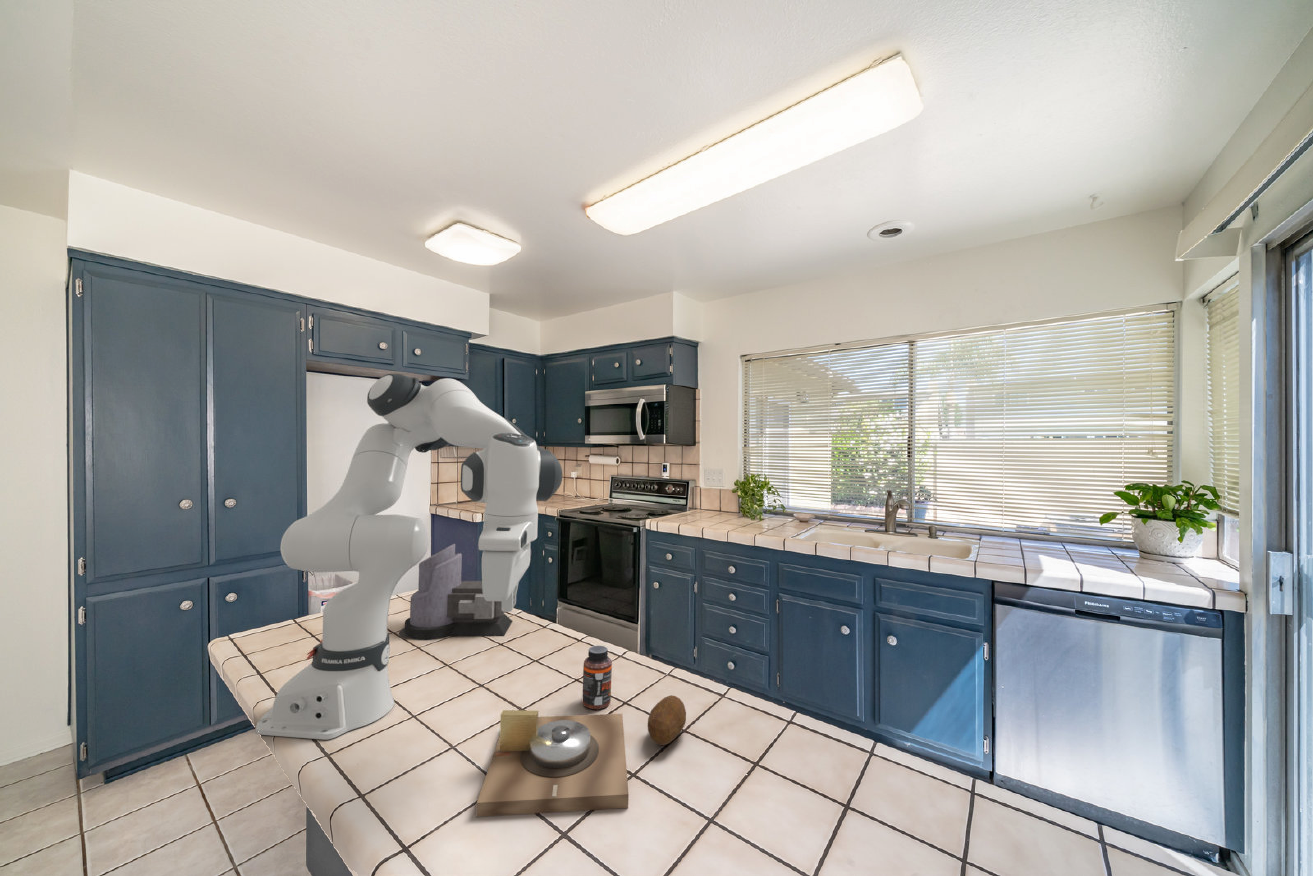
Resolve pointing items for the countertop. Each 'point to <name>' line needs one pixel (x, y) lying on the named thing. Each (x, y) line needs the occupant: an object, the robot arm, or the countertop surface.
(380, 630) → the robot arm
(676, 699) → the potato
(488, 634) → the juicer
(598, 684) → the supplement bottle
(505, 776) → the panel
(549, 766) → the grey round gold-handled piece
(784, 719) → the countertop surface
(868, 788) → the countertop surface
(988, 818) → the countertop surface
